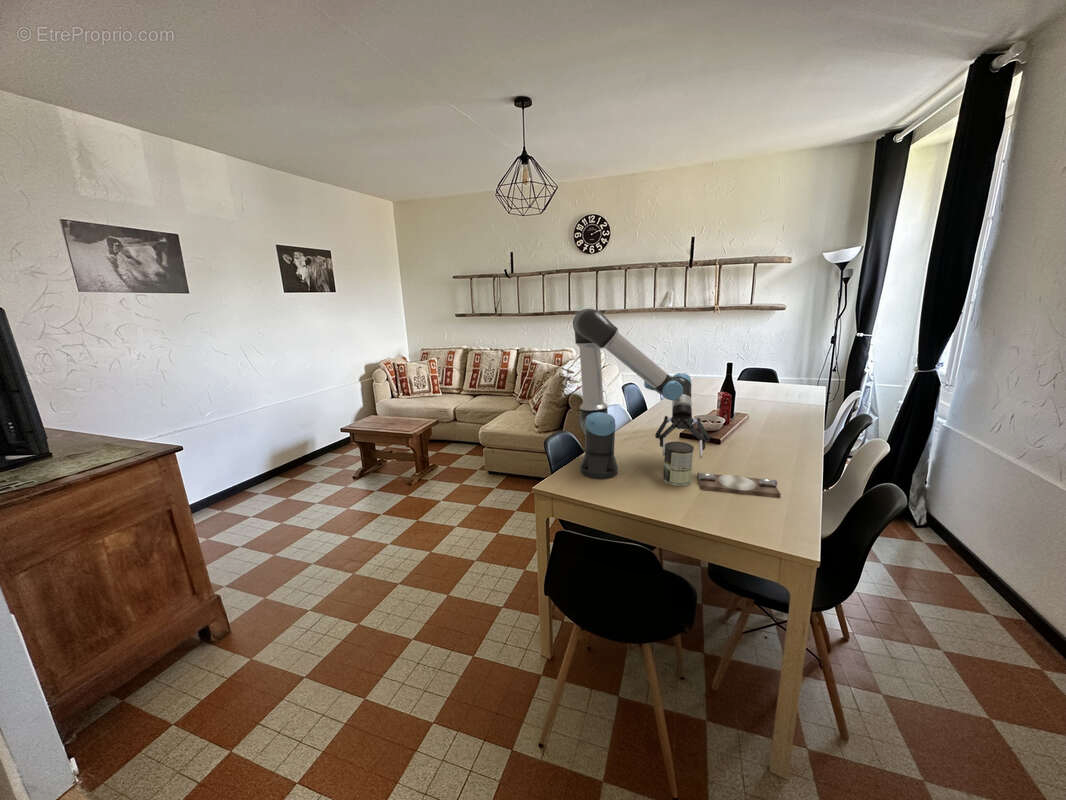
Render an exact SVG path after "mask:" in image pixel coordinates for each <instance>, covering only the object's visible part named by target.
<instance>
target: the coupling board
mask: <svg viewBox="0 0 1066 800" xmlns="http://www.w3.org/2000/svg"><path fill="white" fill-rule="evenodd" d="M699 473H700V472H697V473H696V474H697V476H696V478H697V480H698V484H699V489H700V490H701V491H703V490H704V491H711V492H712V491H713V492H720V493H721V492H723V493H730V494H731V493H733V494H739V495H740V494H742V495H749V496H750V495H751V496H758V497H759V496H761V497H770V498H779V499H780V498H781V492H780V490H779V488H777V487H773V486H763V485H759V479H760V478H757V477H756V478H755V477H746V476H742V475H741V476H740V475H734V474H716V473H715V475H716V479H715V481H712V480H702V479H699Z"/></svg>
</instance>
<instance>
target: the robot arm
mask: <svg viewBox="0 0 1066 800" xmlns="http://www.w3.org/2000/svg"><path fill="white" fill-rule="evenodd" d="M572 328H573V330H574V341H575V345H576V346H577V347H579V359H580V375H581V388H582V389H581V391H582V404H581V405H580V406H579V413H580V415H579V426H580V429H581V430H582V432H583V435H584V436H585V437H584V439H585V440H584V455H583V458H582V460H581V463H580V473H581V474H582V475H583V476H585V477H587V478H592V479H598V480H604V479H605V480H606V479H611V478H614V477H616V476H618V473H619V467H618V463H617V460H616V456H615V444H616V443H615V440H616V439H615V438H616V436H615V435H616V426H617V425H616V419H615V417H614V416H613V415H612V414H609V413H608V404H606V402H605V401H604V389H603V388H604V387H603V372H602V354H601V353H602V352H601V349H606V351H608V352H609V353H610V354H611V355H612V356H613V357H615V358H616V359H617V360H618V361H620V362H621V363H622V364H624V365H625V367H627V368H628V369H629V370H631V371H632V372H633V373H635V374H636V375H637V376H639V378H640V379H642V380H643V381H644V382H643V383H644V384H643V386H644V388H645V389H647V390H650V391H655V392H656V393H658V394H659V395H661V396H662V397H663V398H665V399H666V400H669V401H671V402H672V404H671V405H672V406H671V407H672V408H671V409H672V410H671V417H668V415H664V418H663V422H661V425H660V426H659V427H658V430H657V431H656V433H655V436H654V437H655V439H659V447H662V456H664V457H665V444H666V438H667V436H668V435H670V433H672V431H674V430H675V429H677V430H688V431H689V432H691V434H693V435H694V437H696V438H697V440H699V442H698V450H699V451H698V453H699V454H698V455H699V459H703V456H704V455H703V454H704V453H703V451H705V450H706V443H708V442H710V439H711V437H710V435H709V434H708V432H707V430H706V428H705V427H704V425H703V423H702V422H701V421H702V420H701V418H700V417H698V418H693V415H692V414H693V410H692V407H693V405H692V379H691V376H690V375H689V374H687V373H683V372H682V373H680V372H679V373H675V374H674V375H673V376H672V375H669V374H668V373H667V372H666V371H665V370H663V369H662V368H661V367H660V366H659V365H658V364H657V363H655V362H654V361H653V360H652V359H650V358H649V357H648V356H647V355H646V354H644V353H643V352H642V351H641V350H639V348H637V347H636V346H635V345H633V344H632V342H630V341H629V340H628V339H626V338H625V337H624V336H623V335H622V334H621V333H619V328H618V327H617V326H616V325H615V324H613V322H611V321H610V320H609V319H608V318H607V316H605V314H604V313H603V312H601V311H600V310H597V309H594V308H584V309H581V310H579V311H578V312H577V313H576V314H575V316H574V318H573V320H572ZM670 422H671V423H672V424H671V425H670V426H668V428H666V426H667V424H668V423H670ZM693 424H694V425H696V426H697V429H696V427H694V425H693ZM665 428H666V430H664V429H665ZM698 430H699V431H698Z"/></svg>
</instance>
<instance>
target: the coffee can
mask: <svg viewBox="0 0 1066 800" xmlns="http://www.w3.org/2000/svg"><path fill="white" fill-rule="evenodd" d="M694 449H695V447H694V445H693V444H691V443H688V442H685V441H684V442H683V441H668V442H667V443H666V442H665V456H664V459H663V460H664V462H663V474H662V476H663V477H662V480H663V482H665V483H666V484H668V485H672V486H676V487H685V486H688V485H690V484H691V482H692V479H691V478H692V469H693V468H692V467H693V457H694Z"/></svg>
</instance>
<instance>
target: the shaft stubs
mask: <svg viewBox="0 0 1066 800" xmlns="http://www.w3.org/2000/svg"><path fill="white" fill-rule="evenodd" d="M698 473H699V479H702V480H712V481H715V479H716V475H717V474H716V473H715V474H716V475H715V474H714V473H706V472H704V473H703V472H698ZM758 479H759V485H763V486H773V487H776V488H777V487H778V480H777V479H768V478H758Z"/></svg>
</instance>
